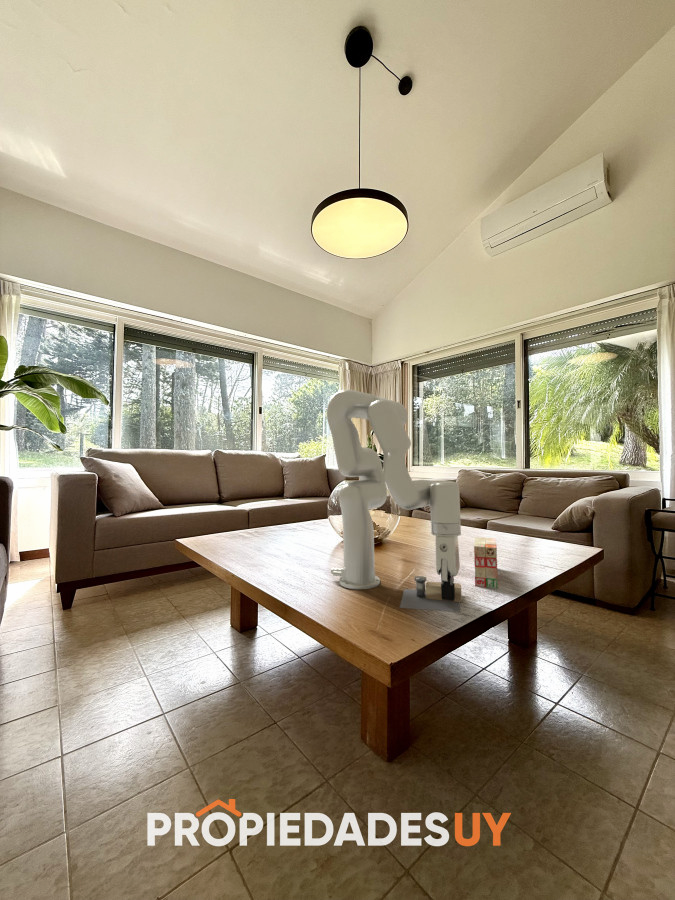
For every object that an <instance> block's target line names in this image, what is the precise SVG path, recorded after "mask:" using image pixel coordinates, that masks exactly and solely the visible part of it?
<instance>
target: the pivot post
mask: <svg viewBox="0 0 675 900" xmlns="http://www.w3.org/2000/svg"><path fill="white" fill-rule="evenodd" d="M414 581H415V584H416V585H415V588H416V589H415V590H416V592H417V597H419V598H424V597H425V590H426V582H428V581H427V577H426V576H423V575H420V576H419V575H417V576H415V577H414Z"/></svg>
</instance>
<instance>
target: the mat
mask: <svg viewBox="0 0 675 900" xmlns="http://www.w3.org/2000/svg"><path fill="white" fill-rule="evenodd" d="M460 604H461V602H454V601H445V600H436V599H427V598H426V589H425V597H424V598H419V597H417V592H416V589H413V588H404V589H403V592H402V597H401V601H400V605H399V609H400V608H401V609H409V610H411V609H412V610H424V611H425V610H426V611H439V612H451V613H461V612H462V610H461V605H460Z"/></svg>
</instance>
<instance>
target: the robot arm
mask: <svg viewBox="0 0 675 900" xmlns="http://www.w3.org/2000/svg"><path fill="white" fill-rule="evenodd" d="M352 418H353V419H362V420H367V421H368V422H369V424H370V426H371V429H372V431H373V433H374V435H375V438H376V440H377V442H378V444H379V446H380V449H381V451H382V454H383V461H381V460H382V459H381V458H380V456H379V454H378V453H377V452H376V451H375V450H374V449H373V448H370V447H365V446H364V447H363V446H362V444H361V440H360V435H359V431H358V428H357V427H356V425H355V423H354V422H353V420H352ZM408 418H409V416H408V410H407V408H406V407H405V405H403V404H402V403H400V402H399V401H395V400H391V399H387V398H385V397H381V396H379V395H376V394H373V393H367V392H363V391H358V390H354V389H341V390H338V391H337V392H335V393H334V394H333V395H332V396H331V397H330V399H329V401H328V404H327V408H326V420H327V423H328V427H329V430H330V434H331V438H332V444H333V449H334V454H335V459H336V464H337V468H338V471H339V473H340V474H341V476H344V477H345V478H359V479H358V480H353V481H349V482H347V483H346V484H344V485H343V486H341V488H340V490H339V494H338V503H339V507H340V511H341V512H340V513H341V520H342V541H343V543H342V544H343V547H342V548H343V567H340V568H338V567H331V568H330V569H331V570H330V574H331V575H333V576H334V577H340V578H339V579H338V582H339V583H338V584H339V585H340V586H341V587H343V588H346V589H350V590H368V589H372V588H376V587H378V586H379V585H380V584H381V580H380V579H381V578H380V577H379V576H377V575H376V570H375V538H374V537H375V536H374V534H375V533H374V532H375V531H374V522H373V519H372V515H371V513H370V510H373V509H377V508H380V507H382V506H383V505H384V504H385V503H386V501H387V498H388V497H387V496H388V492H389V494H390V495H391V497H392V499H393V501H394V503H395V504H396V505H397V506H398V507H399V508H401V509H403V510H405V511H411V510H415V509H421V508H425V507H429V508H430V511H429V512H430V534H431V535H432V536H434V537H435V567H436V574H437V575H438V576H440V579H441V580H440V581H441V596H442V599H443V600H450V601H454V599H455V579H454V578H455V577H456V576H458V574H459V570H460V567H461V565H460V563H461V562H460V549H459V538H458V537H459V536H461V535H462V528H461V527H462V525H461V523H462V522H461V501H460V499H461V498H460V485H459V483H458V482H456V481H453V480H450V481H449V480H440V481H439V480H438V481H437V480H436V481H433V480H429V479H417V480H416V479H415V480H412V477H411V475H410V474H409V471H408V467H407V465H406V455H407V452H408V450H409V449H410V448H411V445H412V441H411V439H410V437H409V435H408V433H407V431H406V428H405V427H404V426H405V425H406V424H407V422H408Z"/></svg>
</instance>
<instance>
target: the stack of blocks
mask: <svg viewBox="0 0 675 900" xmlns="http://www.w3.org/2000/svg"><path fill="white" fill-rule="evenodd" d="M497 546H498V545H497V540H496V538H493V537H475V538H474V544H473V552H474V553H473V554H474V557H473V559H474V586H475V587H480V588H481V587H482V588H491V589H492V588H493V589H498V588H499V587H498V585H499V584H498V580H499V579H498V557H497V556H498V554H497V552H498V549H497Z"/></svg>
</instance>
